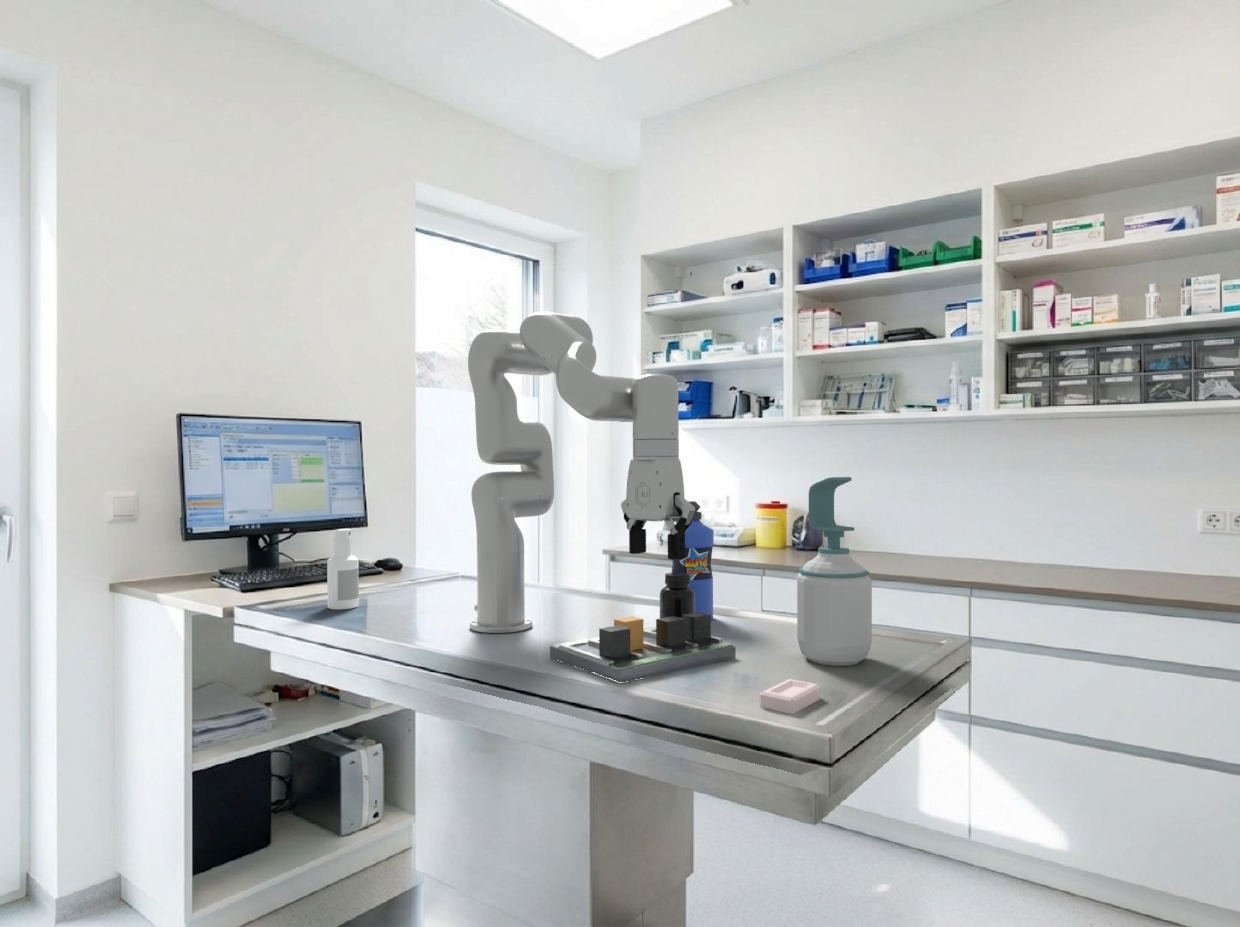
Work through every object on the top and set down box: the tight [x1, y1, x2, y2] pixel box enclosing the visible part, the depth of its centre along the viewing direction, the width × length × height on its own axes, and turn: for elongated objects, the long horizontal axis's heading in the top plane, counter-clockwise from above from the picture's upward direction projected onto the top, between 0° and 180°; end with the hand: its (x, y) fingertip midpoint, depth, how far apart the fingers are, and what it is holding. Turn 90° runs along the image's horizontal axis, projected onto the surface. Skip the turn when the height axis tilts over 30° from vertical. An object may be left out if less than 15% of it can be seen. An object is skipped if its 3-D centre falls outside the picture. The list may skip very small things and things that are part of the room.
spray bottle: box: [326, 528, 360, 611], centre depth 186 cm, size 7×7×18 cm
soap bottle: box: [796, 476, 873, 667], centre depth 137 cm, size 12×12×31 cm
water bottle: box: [669, 500, 715, 622], centre depth 171 cm, size 9×9×25 cm
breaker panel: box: [549, 612, 737, 682], centre depth 139 cm, size 20×25×7 cm
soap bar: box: [758, 678, 822, 714], centre depth 114 cm, size 5×9×2 cm, turn 141°
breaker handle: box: [613, 615, 644, 651], centre depth 137 cm, size 3×4×5 cm
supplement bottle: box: [659, 572, 695, 619], centre depth 156 cm, size 7×7×12 cm
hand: (656, 555), depth 132 cm, fingers open, 9 cm apart
